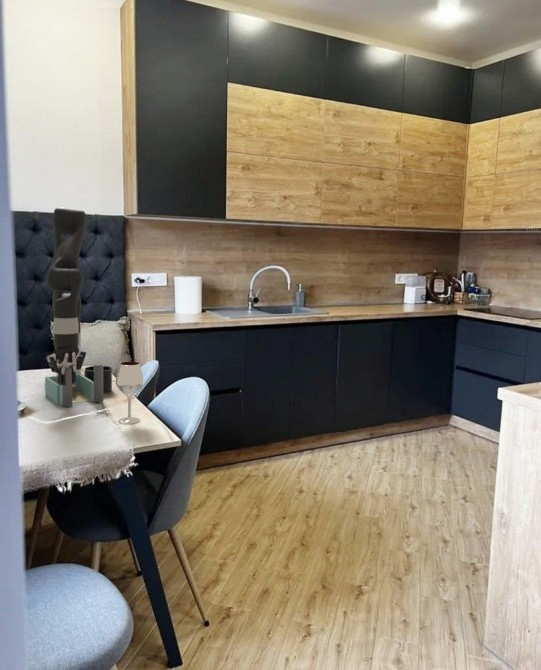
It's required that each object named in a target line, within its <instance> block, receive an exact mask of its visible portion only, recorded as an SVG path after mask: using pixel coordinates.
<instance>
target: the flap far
mask: <svg viewBox="0 0 541 670" xmlns="http://www.w3.org/2000/svg"><path fill="white" fill-rule="evenodd" d="M93 366H94V383H93V382H92V383H91V401H92V402H94V403H99V404H101V403H103V402H104V394H103V366H104V364H102V363H94V364H93ZM91 401H90V402H91Z"/></svg>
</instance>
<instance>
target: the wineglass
mask: <svg viewBox="0 0 541 670" xmlns="http://www.w3.org/2000/svg"><path fill="white" fill-rule="evenodd" d="M118 366H119V367H118V370H117V374H116V377H115V384H116V387H117V389H118V390H119V391H120V392H121V393H123V394H124V395H125V396H126V397H127V399H128V403H127V404H128V405H127V406H128V408H127V409H128V411H127V417H122V418H119V419H118V423H120V424H123V425H134V424H137V423H139V422H140V421H141V419H140V418H139V417H134V416H132V397H133V396H134V395H136V393H138V391H140V390H141V389H142V387H143V386H144V375H143V372H142V368H141V364H140V362H139V361H138V362H137V361H123V362H120V363H119V365H118Z"/></svg>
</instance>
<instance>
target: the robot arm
mask: <svg viewBox="0 0 541 670" xmlns="http://www.w3.org/2000/svg"><path fill="white" fill-rule="evenodd" d="M86 229H87V215H86V212H85V211H84V210H81V209H78V208H71V207H69V208H68V207H62V206H61V207H59V206H58V207H55V209H54V211H53V214H52V231H53V245H54V248H53V263H52V266H51V267H50V269H49V270H48V273H47V275H46V283H47V286H48V287H49V289H50V290H52V291H53V292H52V302H51V303H52V306H51V307H52V312H53V326H52V327H53V347H54V350H53V353H52V354H50V355H46V356H45V360H46V362H47V364H48V367H49V368H50V370H51V372H52V373H56V375H57V376H58V383H59V384H60V385H62V386H63V385H65V374H64V372H65V367H72V384H73V383H75V381H76V374H81V375H82V366H83V364H84V361H85V359H86V355H87V352H86V351H83V350H81V349H82V348H81V347H82V343H81V341H82V339H81V335H82V334H81V331H82V330H81V315H82V314H81V312H82V298H81V295H80V292H81V289H82V286H83V282H84V276H83V273H82V272H81V270H80V251H81V248H82V245H83V241H84V238H85V234H86ZM65 235H66V236H67V235H68V236H69V237H68V238H67V239H66V237H65ZM65 292H70V293H65Z"/></svg>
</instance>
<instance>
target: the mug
mask: <svg viewBox="0 0 541 670" xmlns="http://www.w3.org/2000/svg"><path fill="white" fill-rule="evenodd" d="M84 377H86V378H88V379H90V380H91V381H93V383H94V365H92V366H87V367H84ZM112 384H113V368H112V367H111V366H108V365H107V366H106V365H103V395H105V394H109V393H112V391H113V390H112V388H113V385H112Z"/></svg>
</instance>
